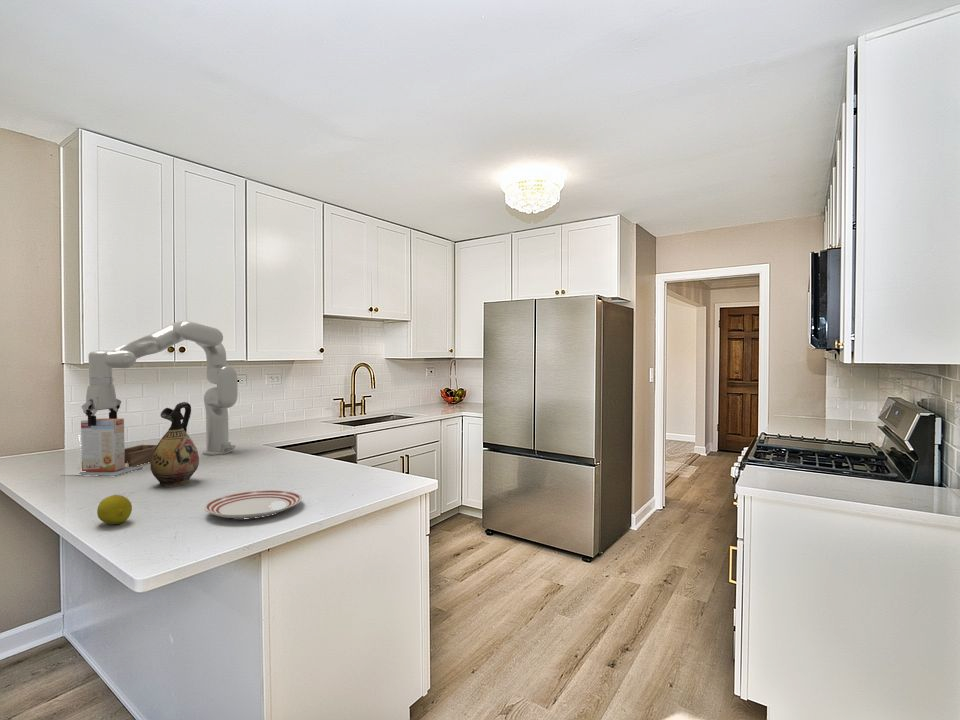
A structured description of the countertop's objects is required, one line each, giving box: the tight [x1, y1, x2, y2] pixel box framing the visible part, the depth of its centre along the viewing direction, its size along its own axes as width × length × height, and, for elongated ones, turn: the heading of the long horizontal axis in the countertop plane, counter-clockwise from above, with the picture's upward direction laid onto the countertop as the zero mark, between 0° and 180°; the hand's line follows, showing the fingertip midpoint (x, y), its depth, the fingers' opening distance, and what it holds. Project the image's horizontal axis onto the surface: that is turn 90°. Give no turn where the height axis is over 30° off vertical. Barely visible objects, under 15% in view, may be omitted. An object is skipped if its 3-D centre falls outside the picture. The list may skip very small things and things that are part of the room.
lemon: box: [96, 494, 133, 525], centre depth 143 cm, size 11×8×8 cm
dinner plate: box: [203, 489, 303, 520], centre depth 155 cm, size 27×27×3 cm
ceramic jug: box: [149, 401, 200, 488], centre depth 187 cm, size 17×15×30 cm
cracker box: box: [80, 418, 126, 471], centre depth 205 cm, size 14×6×21 cm, turn 87°
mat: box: [79, 466, 144, 477], centre depth 204 cm, size 24×14×1 cm, turn 82°
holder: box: [125, 444, 158, 467], centre depth 221 cm, size 11×19×6 cm, turn 172°
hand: (103, 423), depth 204 cm, fingers open, 9 cm apart
